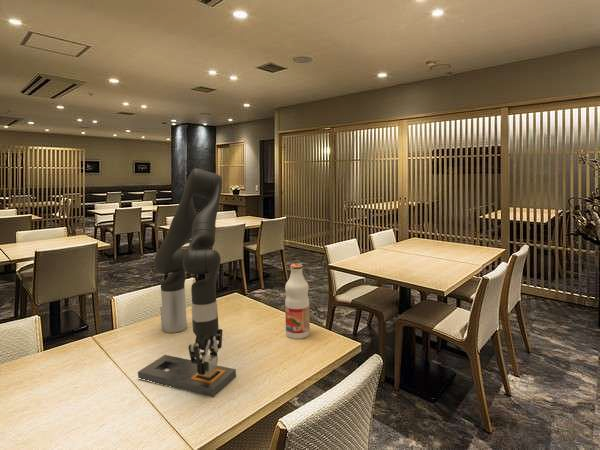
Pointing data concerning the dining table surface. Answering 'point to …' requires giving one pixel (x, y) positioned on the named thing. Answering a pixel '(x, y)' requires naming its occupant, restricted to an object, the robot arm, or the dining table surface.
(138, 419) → the dining table surface
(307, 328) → the fruit juice
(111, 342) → the dining table surface
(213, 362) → the grey square peg
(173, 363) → the grey board with holes
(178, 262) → the robot arm
